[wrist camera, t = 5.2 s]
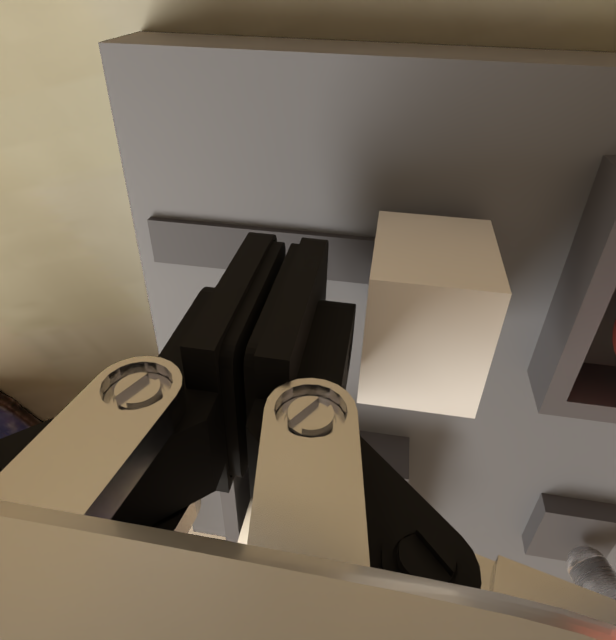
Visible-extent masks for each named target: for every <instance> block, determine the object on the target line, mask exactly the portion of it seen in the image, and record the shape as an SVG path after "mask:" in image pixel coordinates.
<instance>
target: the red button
mask: <svg viewBox="0 0 616 640" xmlns="http://www.w3.org/2000/svg"><path fill="white" fill-rule="evenodd" d="M612 343H613V348H614V352H615V355H616V320H615V322H614V327H613V332H612Z"/></svg>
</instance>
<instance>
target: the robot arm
mask: <svg viewBox="0 0 616 640" xmlns="http://www.w3.org/2000/svg"><path fill="white" fill-rule="evenodd" d="M328 249H329V242H328V240H324V239H314V238H304V237H302V238H301V241H300V243H299V244H296V243H291V245H290V247H289V249H288V252H287V254H286V248H285V243H284V242H277V237H276V235H274V234H265V233H255V232H249V233H248V234H247V236H246V238H245V239H244V241H243V242H242V244H241V246H240V247H239V249H238V251H237V252H236V254H235V256H234V257H233V259H232V261H231V262H230V264H229V266H228V267H227V269H226V271H225V272H224V274H223V275H222V277H221V279H220V280H219V282H218V284H217V285H216V287H203V288H202V290H201V291H200V292H199V294H198V295H197V297H196V298H195V300H194V301H193V303H192V305H191V306H190V308H189V309H188V311H187V312H186V314H185V315H184V317H183V318H182V320H181V322H180V323H179V325H178V326H177V328H176V329H175V331H174V332H173V334H172V336H171V337H170V339H169V340H168V342H167V343H166V345H165V346H164V348H163V350H162V351H161V353H160V354H159V356H158V357H154V356H139V357H132V358H128V359H125V360H121V361H119V362H117V363H115V364H113V365H111V366H109V367H107V368H106V369H105V370H103V371H102V372H101V373H100V374H98V375H97V376H96V377H95V378H94V379H93V380H92V381H91V382H90V383H89V384H88V385H87V386H86V387H85V388H84V389H83V390H82V391H81V392H80V393H79V394H78V395H77V396H76V397H75V398H74V399H73V400H72V401H71V402H70V403H69V404H68V405H67V406H66V407H65V408H64V409H63V410H62V411H61V412H60V413H59V414H58V415H57V416H56V417H55V418H52V419H50V420H47V421H45V422H42V423H39V424H37V425H34V426H32V427H29V428H27V429H24V430H21V431H19V432H16V433H14V434H11V435H9V436H6V437H3V438H1V439H0V640H616V600H615V599H612V598H609V597H607V596H604V595H602V594H599V593H596V592H594V591H591V590H589V589H586V588H583V587H581V586H578V585H576V584H573V583H570V582H568V581H565V580H563V579H560V578H557V577H555V576H552V575H550V574H547V573H544V572H542V571H539V570H537V569H534V568H531V567H529V566H526V565H524V564H521V563H518V562H516V561H513V560H511V559H508V558H505V557H503V556H500V555H498V557H497V559H496V561H493V560H491V559H488V558H485V557H483V556H480V555H478V554H475V553H474V551H473V549H472V548H471V547H470V546H469V544H468V543H467V542H466V541H465V539H464V538H463V537H462V536H461V535H460V534H459V533H458V532H457V531H456V530H455V529H454V528H453V527H452V526H451V525H450V524H449V523H448V522H447V521H446V520H445V519H444V518H443V517H442V516H441V515H440V514H439V513H438V512H437V511H436V510H435V509H434V508H433V507H432V506H431V505H430V504H429V503H428V502H427V501H426V500H425V499H424V498H423V497H422V496H421V495H420V494H419V493H418V492H417V491H416V490H415V489H414V488H413V487H412V486H411V485H410V484H409V483H408V482H407V481H406V480H405V479H404V478H403V477H402V476H401V475H400V474H399V473H398V472H397V471H396V470H395V469H394V468H393V467H392V466H391V465H390V464H389V463H388V462H387V461H385V460H384V459H383V458H382V457H381V456H380V455H379V454H378V453H377V452H376V451H375V450H374V449H373V448H372V447H371V446H370V445H369V444H368V443H367V442H366V441H365V440H364V439H363V438H362V437H361V436H360V434H359V421H358V410H357V407H356V404H355V401H354V399H353V398H352V397H351V395H350V394H349V393H348V391H346V386H347V380H348V373H349V367H350V359H351V351H352V343H353V334H354V324H355V313H356V304H352V303H344V302H335V301H326V286H327V268H328ZM247 467H248V470H249V485H250V497H251V499H252V508H251V516H250V524H249V532H248V540H247V544H242V543H237V542H231V541H226V540H220V539H215V538H209V537H204V536H198V535H193V534H187V533H188V532H189V530H190V528H191V526H192V525H193V523H194V521H195V519H196V518H197V515H198V513H199V510H200V508H201V499H202V498H204V497H205V496H207V495H209V494H211V493H213V492H215V491H220V492H226V493H229V491H230V489H231V486H232V483H233V480H234V477H235V476H237V477H243V476H244V475H245V472H246V470H247Z"/></svg>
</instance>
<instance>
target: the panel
mask: <svg viewBox="0 0 616 640" xmlns="http://www.w3.org/2000/svg"><path fill="white" fill-rule="evenodd" d="M98 44H99V49H100V54H101V59H102V64H103V69H104V74H105V79H106V85H107V90H108V95H109V100H110V105H111V110H112V115H113V121H114V126H115V131H116V136H117V141H118V146H119V151H120V156H121V162H122V167H123V172H124V177H125V182H126V187H127V192H128V198H129V203H130V208H131V213H132V218H133V223H134V228H135V233H136V239H137V244H138V249H139V254H140V259H141V264H142V269H143V275H144V280H145V285H146V290H147V295H148V300H149V305H150V310H151V316H152V321H153V326H154V331H155V336H156V341H157V346H158V352H159V354H160V353H161V351H162V350H163V348H164V346H165V345H166V343H167V342H168V340H169V339H170V337H171V336H172V334H173V332H174V331H175V329H176V328H177V326H178V325H179V323H180V322H181V320H182V318H183V317H184V315H185V314H186V312H187V311H188V309H189V308H190V306H191V305H192V303H193V301H194V300H195V298H196V297H197V295H198V294H199V292H200V291H201V290H202V288H203V287H216V285H217V284H218V282H219V280H220V279H221V277H222V275H223V274H224V272H225V271H226V269H227V267H228V266H229V264H230V262H231V261H232V259H233V257H234V256H235V254H236V252H237V251H238V249H239V247H240V246H241V244H242V242H243V241H244V239H245V238H246V236H247V234H248V233H249V232H255V233H265V234H274V235H276V237H277V242H284V243H285V248H286V254H287V252H288V249H289V247H290V245H291V243H296V244H299V243H300V241H301V238H302V237H304V238H314V239H324V240H328V242H329V249H328V268H327V286H326V301H335V302H344V303H352V304H356V313H355V324H354V334H353V343H352V351H351V359H350V367H349V373H348V380H347V386H346V391H348V393H349V394H350V395H351V397H352V398H353V399H354V401H355V404H356V407H357V410H358V421H359V434H360V436H361V437H362V438H363V439H364V440H365V441H366V442H367V443H368V444H369V445H370V446H371V447H372V448H373V449H374V450H375V451H376V452H377V453H378V454H379V455H380V456H381V457H382V458H383V459H384V460H385V461H387V462H388V463H389V464H390V465H391V466H392V467H393V468H394V469H395V470H396V471H397V472H398V473H399V474H400V475H401V476H402V477H403V478H404V479H405V480H406V481H407V482H408V483H409V484H410V485H411V486H412V487H413V488H414V489H415V490H416V491H417V492H418V493H419V494H420V495H421V496H422V497H423V498H424V499H425V500H426V501H427V502H428V503H429V504H430V505H431V506H432V507H433V508H434V509H435V510H436V511H437V512H438V513H439V514H440V515H441V516H442V517H443V518H444V519H445V520H446V521H447V522H448V523H449V524H450V525H451V526H452V527H453V528H454V529H455V530H456V531H457V532H458V533H459V534H460V535H461V536H462V537H463V538H464V539H465V541H466V542H467V543H468V544H469V546H470V547H471V548H472V549H473V551H474V553H475V554H478V555H480V556H483V557H485V558H488V559H491V560H493V561H496V559H497V557H498V555H500V556H503V557H505V558H508V559H511V560H513V561H516V562H518V563H521V564H524V565H526V566H529V567H531V568H534V569H537V570H539V571H542V572H544V573H547V574H550V575H552V576H555V577H557V578H560V579H563V580H565V581H568V582H570V583H573V584H574V582H573V580H572V579H571V577H570V575H569V573H568V571H567V567H566V560H567V556H568V554H569V553H570V552H571V551H572V550H573V549H574V548H576V547H580V546H588V547H592V548H594V549H596V550H598V551H599V552H601V553H602V554H603V555H604V556H605V558H606V559H607V560H608V562H609V563H610V565H611V566H612V568H613V569H614V571H615V572H616V355H615V352H614V348H613V343H612V332H613V327H614V322H615V320H616V52H596V51H573V50H550V49H528V48H505V47H483V46H460V45H437V44H415V43H392V42H369V41H347V40H324V39H301V38H279V37H256V36H234V35H211V34H188V33H166V32H143V31H139V32H135V33H131V34H128V35H124V36H120V37H117V38H113V39H109V40H106V41H102V42H98ZM379 211H388V212H400V213H411V214H423V215H435V216H446V217H458V218H470V219H481V220H491V223H492V226H493V230H494V233H495V237H496V240H497V244H498V247H499V251H500V254H501V258H502V261H503V265H504V268H505V272H506V275H507V279H508V282H509V286H510V289H511V293H512V295H511V299H510V302H509V305H508V309H507V312H506V315H505V319H504V322H503V325H502V329H501V332H500V336H499V339H498V342H497V346H496V349H495V352H494V356H493V359H492V362H491V366H490V369H489V373H488V376H487V379H486V383H485V386H484V389H483V393H482V396H481V399H480V403H479V406H478V410H477V413H476V416H475V419H473V418H466V417H458V416H451V415H443V414H436V413H428V412H421V411H414V410H406V409H399V408H391V407H384V406H376V405H369V404H361V403H357V395H358V385H359V376H360V366H361V356H362V346H363V337H364V327H365V317H366V308H367V298H368V288H369V279H370V272H371V265H372V258H373V251H374V244H375V237H376V230H377V223H378V216H379ZM250 499H251V497H250V485H249V470H248V467H247V470H246V472H245V475H244V476H243V477H237V476H235V477H234V480H233V483H232V486H231V489H230V491H229V493H226V492H220V491H215V492H213V493H211V494H209V495H207V496H205V497H204V498H202V499H201V508H200V510H199V513H198V515H197V518H196V519H195V521H194V523H193V525H192V526H193V531H194V532H200V533H206V534H212V535H217V536H223V537H226V541H231V542H238V539H239V535H240V532H241V529H242V525H243V522H244V519H245V516H246V512H247V509H248V506H249V502H250Z"/></svg>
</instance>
